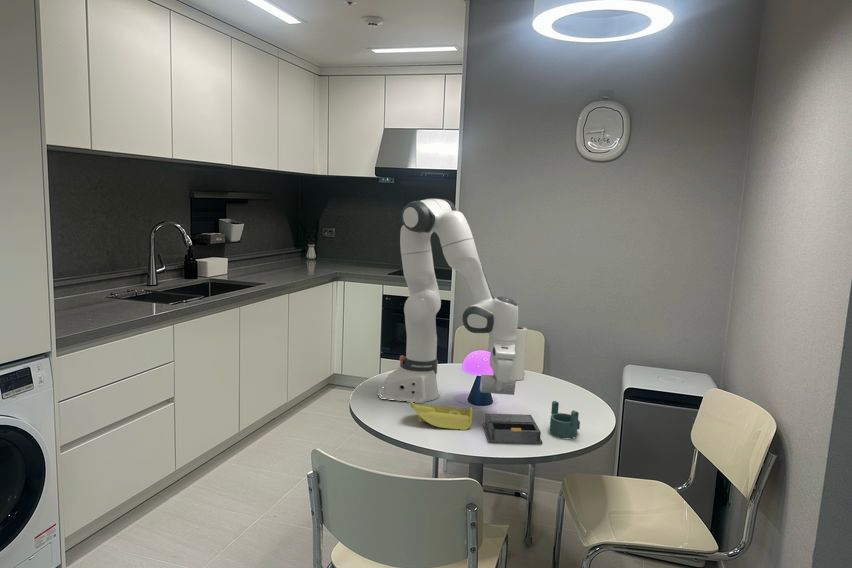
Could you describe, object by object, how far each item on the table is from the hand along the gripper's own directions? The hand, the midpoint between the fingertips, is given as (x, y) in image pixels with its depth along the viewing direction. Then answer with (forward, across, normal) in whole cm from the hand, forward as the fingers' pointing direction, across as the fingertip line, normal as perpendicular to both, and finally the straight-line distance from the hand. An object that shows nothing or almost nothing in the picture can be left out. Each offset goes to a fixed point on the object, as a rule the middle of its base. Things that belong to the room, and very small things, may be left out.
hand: (497, 387), depth 184 cm
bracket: (+9, +13, +20) cm, 26 cm away
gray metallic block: (+2, 0, 0) cm, 2 cm away
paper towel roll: (+10, -44, +17) cm, 48 cm away
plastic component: (+12, +6, -18) cm, 22 cm away
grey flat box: (+10, +15, +3) cm, 18 cm away
